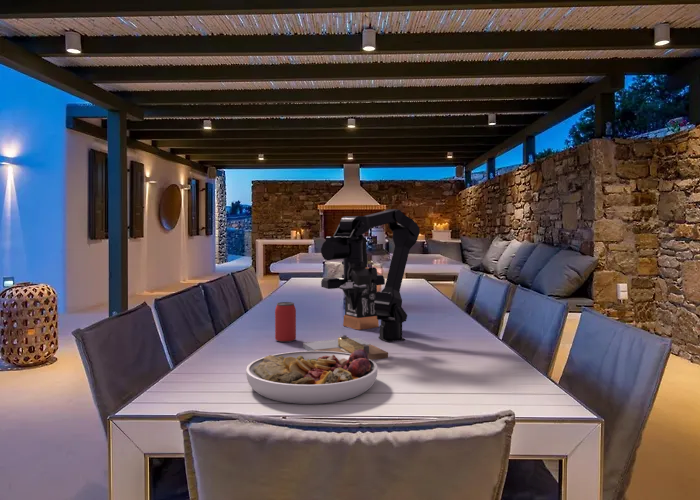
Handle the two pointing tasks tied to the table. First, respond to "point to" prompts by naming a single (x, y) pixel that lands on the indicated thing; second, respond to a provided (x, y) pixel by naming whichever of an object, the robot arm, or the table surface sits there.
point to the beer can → (285, 322)
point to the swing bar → (349, 344)
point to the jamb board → (327, 344)
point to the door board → (370, 349)
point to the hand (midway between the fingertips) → (353, 309)
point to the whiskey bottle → (362, 305)
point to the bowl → (312, 376)
